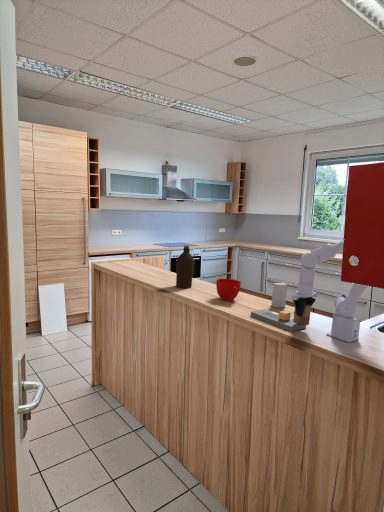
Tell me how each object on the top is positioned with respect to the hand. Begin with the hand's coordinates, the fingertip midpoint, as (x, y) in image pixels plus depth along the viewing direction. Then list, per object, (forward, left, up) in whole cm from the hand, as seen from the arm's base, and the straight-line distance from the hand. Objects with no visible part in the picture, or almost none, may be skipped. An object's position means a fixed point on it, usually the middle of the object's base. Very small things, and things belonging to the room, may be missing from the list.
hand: (302, 315), depth 134 cm
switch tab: (+8, 0, -4) cm, 9 cm away
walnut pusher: (0, 0, -3) cm, 4 cm away
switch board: (+12, 0, -6) cm, 13 cm away
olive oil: (+83, -1, -6) cm, 83 cm away
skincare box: (+28, -21, -6) cm, 36 cm away
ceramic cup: (+48, -5, -6) cm, 49 cm away
